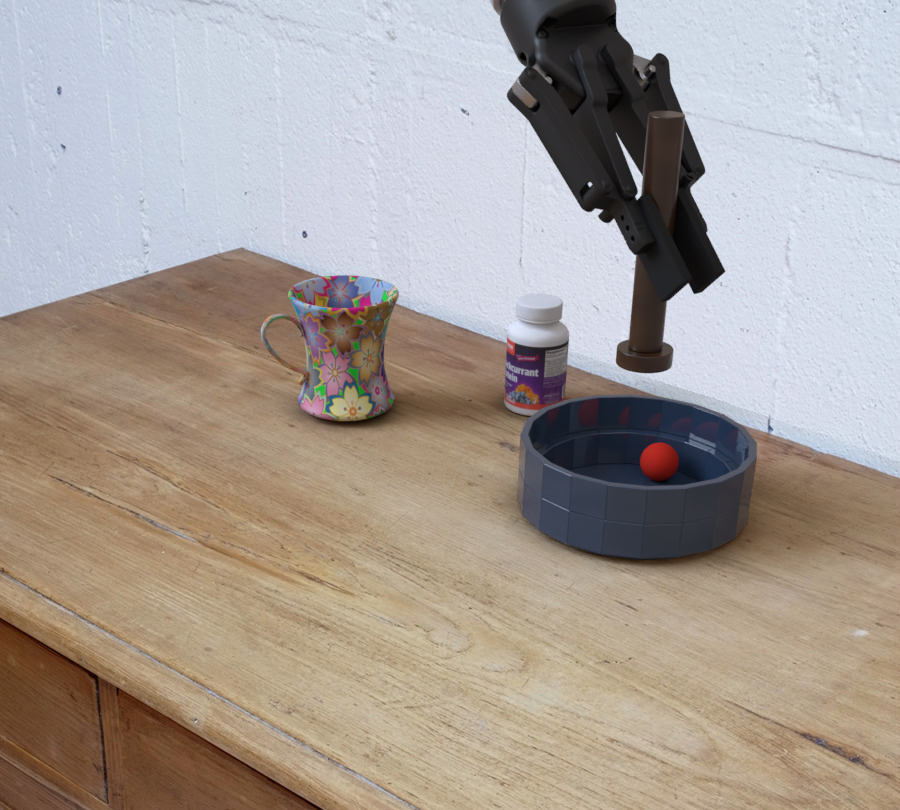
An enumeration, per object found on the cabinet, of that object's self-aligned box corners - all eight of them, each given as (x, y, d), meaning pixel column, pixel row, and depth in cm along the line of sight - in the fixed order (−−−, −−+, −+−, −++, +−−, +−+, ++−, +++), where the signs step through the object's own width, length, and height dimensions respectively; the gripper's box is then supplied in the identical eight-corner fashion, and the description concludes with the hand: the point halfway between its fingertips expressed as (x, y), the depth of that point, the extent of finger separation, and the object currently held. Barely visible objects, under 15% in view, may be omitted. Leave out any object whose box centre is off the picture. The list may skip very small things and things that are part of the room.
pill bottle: (491, 405, 117) (495, 298, 112) (533, 390, 121) (538, 286, 116) (534, 423, 114) (540, 314, 109) (576, 407, 117) (584, 301, 112)
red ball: (677, 481, 104) (673, 443, 104) (684, 475, 101) (679, 437, 101) (640, 485, 104) (635, 448, 104) (645, 480, 101) (640, 441, 101)
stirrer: (664, 353, 96) (688, 108, 87) (678, 372, 92) (705, 119, 84) (610, 354, 95) (629, 108, 87) (622, 374, 92) (643, 120, 83)
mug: (376, 383, 121) (375, 270, 116) (415, 420, 114) (415, 301, 109) (250, 402, 117) (243, 285, 112) (282, 441, 110) (276, 318, 104)
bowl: (709, 460, 108) (718, 391, 105) (776, 561, 93) (789, 485, 90) (502, 466, 106) (505, 396, 103) (538, 570, 92) (542, 492, 88)
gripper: (600, 19, 98) (738, 295, 95) (432, 34, 90) (577, 336, 87) (657, -55, 91) (807, 238, 88) (481, -46, 84) (639, 276, 80)
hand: (693, 286), depth 88 cm, fingers closed on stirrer, 2 cm apart
